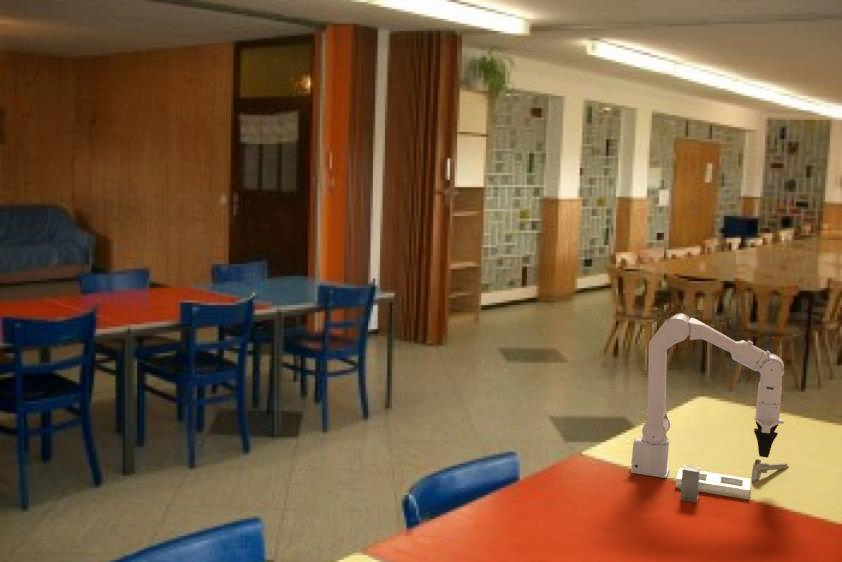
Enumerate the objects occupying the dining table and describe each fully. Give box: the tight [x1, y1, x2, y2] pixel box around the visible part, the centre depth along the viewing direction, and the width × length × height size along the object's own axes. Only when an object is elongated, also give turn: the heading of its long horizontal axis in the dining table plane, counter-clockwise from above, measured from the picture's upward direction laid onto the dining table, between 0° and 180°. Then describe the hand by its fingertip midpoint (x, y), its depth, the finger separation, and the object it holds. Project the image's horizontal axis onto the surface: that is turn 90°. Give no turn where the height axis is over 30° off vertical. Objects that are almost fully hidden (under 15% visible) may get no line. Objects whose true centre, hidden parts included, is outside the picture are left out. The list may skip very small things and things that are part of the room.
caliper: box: [750, 458, 790, 483], centre depth 243 cm, size 20×1×6 cm, turn 133°
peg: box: [679, 464, 701, 504], centre depth 223 cm, size 4×4×8 cm
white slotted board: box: [675, 467, 752, 500], centre depth 231 cm, size 18×9×2 cm, turn 68°
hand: (764, 452), depth 230 cm, fingers open, 7 cm apart
